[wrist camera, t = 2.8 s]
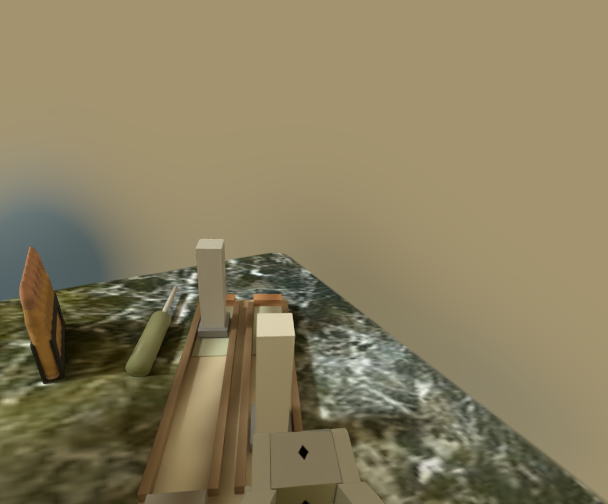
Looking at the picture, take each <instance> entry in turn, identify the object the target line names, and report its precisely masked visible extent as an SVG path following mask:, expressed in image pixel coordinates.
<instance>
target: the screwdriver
mask: <svg viewBox="0 0 608 504" xmlns="http://www.w3.org/2000/svg"><path fill="white" fill-rule="evenodd" d="M177 290H178V287H177V286H174V288H173V290H172V292H171V294H170V296H169V298H168V300H167V302H166V304H165V306H164V308H163V310H162V311H157V312H155V313H153V314H152V316H151V318H150V320H149V322H148V324H147V326H146V328H145V330H144V331H143V333H142V335H141V337H140V339H139V341H138V343H137V345H136V347H135V349H134V351H133V353H132V354H131V356H130V358H129V360H128V362H127V364H126V366H125V369H126V371H127V373H128V374H129V375H131V376H134V377H144V376H146V375H148V374H149V373H150V370H151V368H152V366H153V363H154V361H155V359H156V356H157V354H158V351H159V349H160V347H161V344H162V342H163V339H164V337H165V335H166V332H167V330H168V328H169V325H170V323H171V316H170V315H169V314H168V313H167V312H168V310H169V308H170V305H171V303H172V301H173V299H174V297H175V294H176V292H177Z"/></svg>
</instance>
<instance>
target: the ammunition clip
mask: <svg viewBox="0 0 608 504" xmlns="http://www.w3.org/2000/svg"><path fill="white" fill-rule="evenodd" d="M20 300H21V304H22V307H23V312H24V315H25V324H26V327H27V330H28V333H29V336H30V339H31V344H30V347H31V350H32V353H33V356H34V359H35V361H36V364H37V367H38V370H39V373H40V376H41V378H42V381H43V384H45V383H48V382H51V381H54V380H58V379H61V378H64V377H65V322H64V319H63V315H62V312H61V309H60V305H59V302H58V299H57V296H56V293H54V292H53V289H52V285H51V282H50V279H49V277H48V275H47V273H46V271H45V268H44V267H43V264H42V261H41V259H40V256H39V255H38V253H37V252H36V250H35V249H34V248H33V247H29V251H28V255H27V260H26V263H25V267H24V272H23V276H22V282H21V284H20Z"/></svg>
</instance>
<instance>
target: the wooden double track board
mask: <svg viewBox="0 0 608 504" xmlns="http://www.w3.org/2000/svg"><path fill="white" fill-rule="evenodd" d="M226 307H227V312H230V324H229V330H228V337H199V338H198V328H199V324H200V321H201V312H200V302H199V303H198V306H197V309H196V312H195V316H194V319H193V322H192V325H191V328H190V331H189V334H188V337H187V340H186V344H185V347H184V350H183V353H182V356H181V359H180V362H179V365H178V368H177V371H176V375H175V378H174V381H173V384H172V387H171V390H170V393H169V396H168V399H167V403H166V406H165V409H164V412H163V415H162V418H161V421H160V424H159V427H158V431H157V434H156V437H155V440H154V443H153V446H152V449H151V452H150V455H149V459H148V462H147V465H146V468H145V471H144V474H143V477H142V480H141V483H140V486H139V490H138V493H137V497H138V502H137V504H240V502H241V500H242V498H243V497H244V495H245V493H246V492H249V491H251V482H252V452H250V438H251V412H252V404H256V336H257V313H289V309H288V302H287V300H282V294H254V300H235V294H226ZM290 418H291V429H292V432H300V431H303V425H302V416H301V408H300V400H299V392H298V383H297V375H296V367H295V359H294V357H293V370H292V383H291V396H290Z"/></svg>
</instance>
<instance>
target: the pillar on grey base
mask: <svg viewBox="0 0 608 504" xmlns="http://www.w3.org/2000/svg"><path fill="white" fill-rule="evenodd" d="M196 260H197V273H198V286H199V299H200V312H201V321H200V324H199V328H198V338H199V337H228V330H229V324H230V312H227V307H226V278H225V250H224V239H200V240H199V242H198V244H197V247H196Z"/></svg>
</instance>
